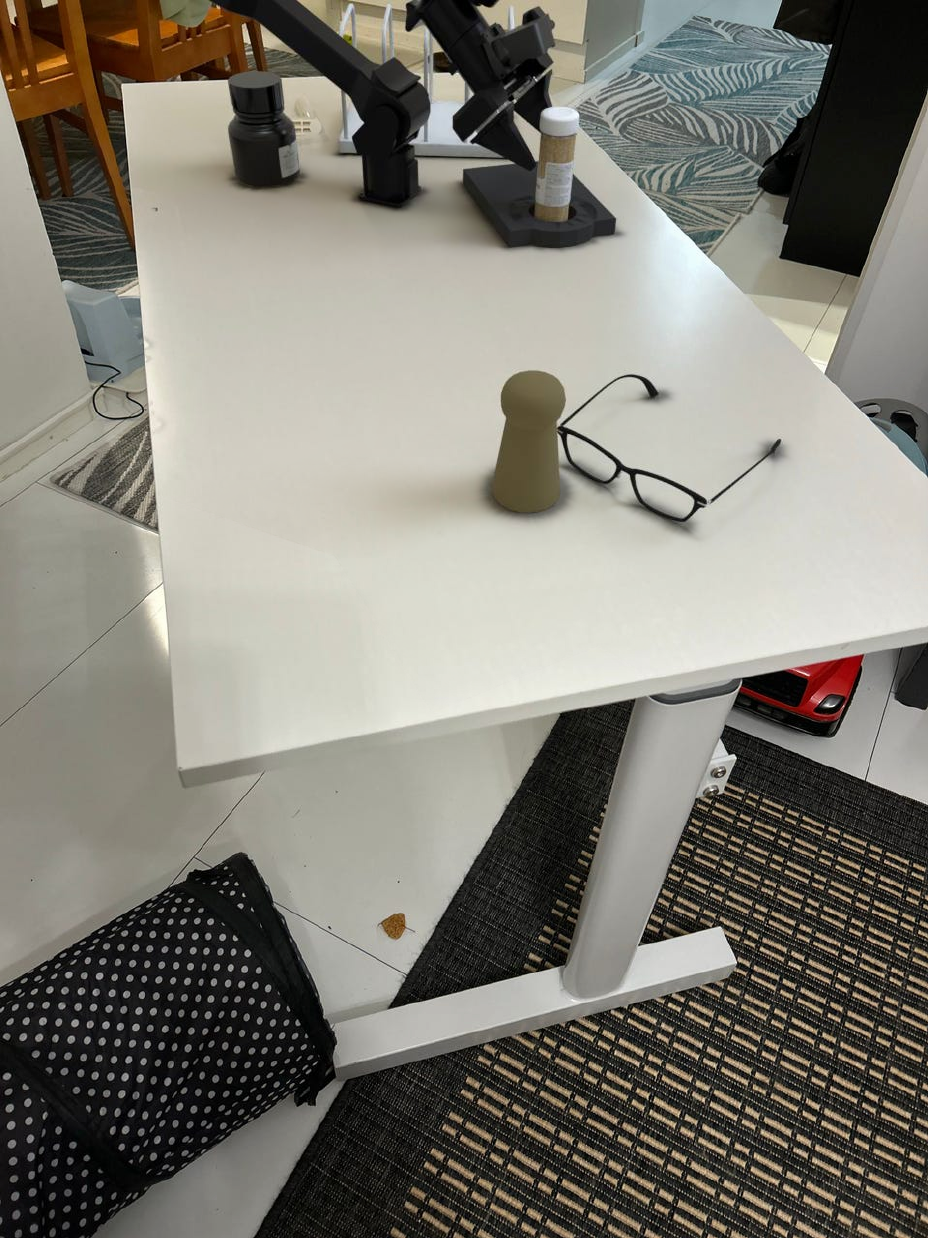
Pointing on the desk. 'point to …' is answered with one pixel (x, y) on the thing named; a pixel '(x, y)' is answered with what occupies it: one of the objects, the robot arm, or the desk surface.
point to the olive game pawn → (529, 443)
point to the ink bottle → (261, 131)
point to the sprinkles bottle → (555, 163)
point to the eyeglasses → (698, 499)
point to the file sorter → (438, 128)
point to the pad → (513, 208)
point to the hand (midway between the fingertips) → (547, 154)
